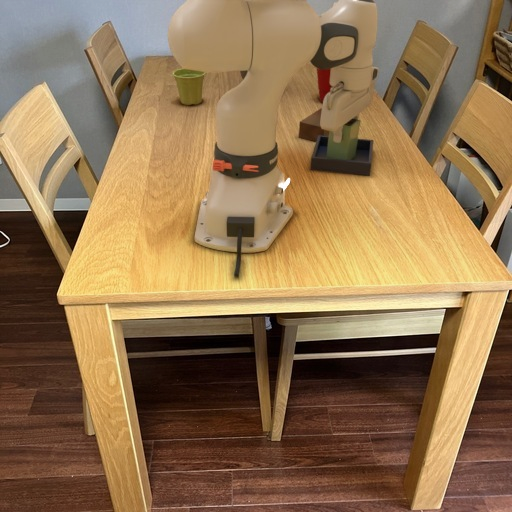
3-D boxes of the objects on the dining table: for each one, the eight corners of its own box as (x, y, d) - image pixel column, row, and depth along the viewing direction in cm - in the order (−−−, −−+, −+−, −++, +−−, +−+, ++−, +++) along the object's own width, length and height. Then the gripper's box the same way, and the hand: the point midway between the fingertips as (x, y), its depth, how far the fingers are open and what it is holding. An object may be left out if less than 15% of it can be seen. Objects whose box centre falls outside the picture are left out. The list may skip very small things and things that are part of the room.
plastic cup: (355, 103, 163) (359, 62, 156) (322, 108, 160) (325, 66, 153) (337, 92, 171) (341, 52, 164) (305, 96, 168) (308, 55, 161)
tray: (369, 176, 124) (371, 163, 123) (310, 170, 127) (311, 157, 125) (371, 151, 135) (373, 139, 133) (317, 146, 137) (318, 135, 136)
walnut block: (298, 137, 142) (299, 121, 140) (320, 122, 150) (321, 107, 148) (322, 143, 139) (324, 127, 137) (343, 128, 147) (345, 113, 145)
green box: (311, 135, 129) (342, 113, 122) (320, 128, 133) (351, 106, 126) (334, 170, 131) (366, 151, 124) (343, 162, 134) (375, 143, 127)
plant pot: (168, 104, 162) (165, 74, 157) (186, 94, 168) (184, 65, 163) (195, 109, 158) (193, 79, 153) (212, 99, 165) (211, 70, 160)
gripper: (343, 92, 111) (336, 155, 119) (381, 67, 125) (374, 125, 133) (315, 86, 114) (311, 149, 122) (356, 62, 128) (350, 120, 136)
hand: (344, 136), depth 128 cm, fingers closed on green box, 5 cm apart
